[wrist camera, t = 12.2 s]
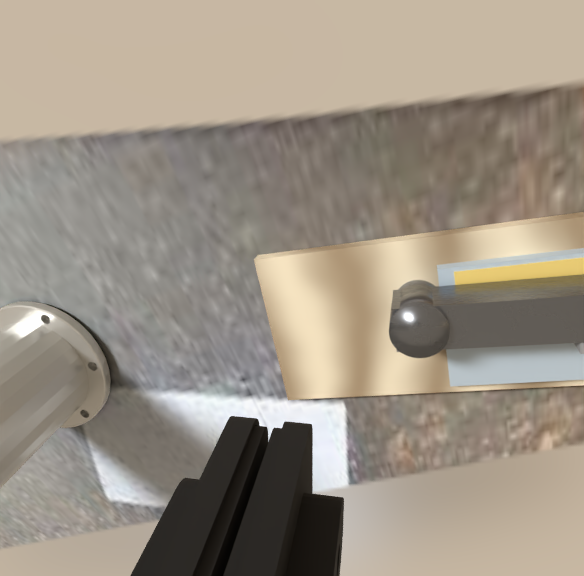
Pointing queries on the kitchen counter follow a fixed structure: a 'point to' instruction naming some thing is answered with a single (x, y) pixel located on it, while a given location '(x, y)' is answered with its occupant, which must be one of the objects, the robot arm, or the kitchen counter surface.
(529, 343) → the latch bar
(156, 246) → the kitchen counter surface
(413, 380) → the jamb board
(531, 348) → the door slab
